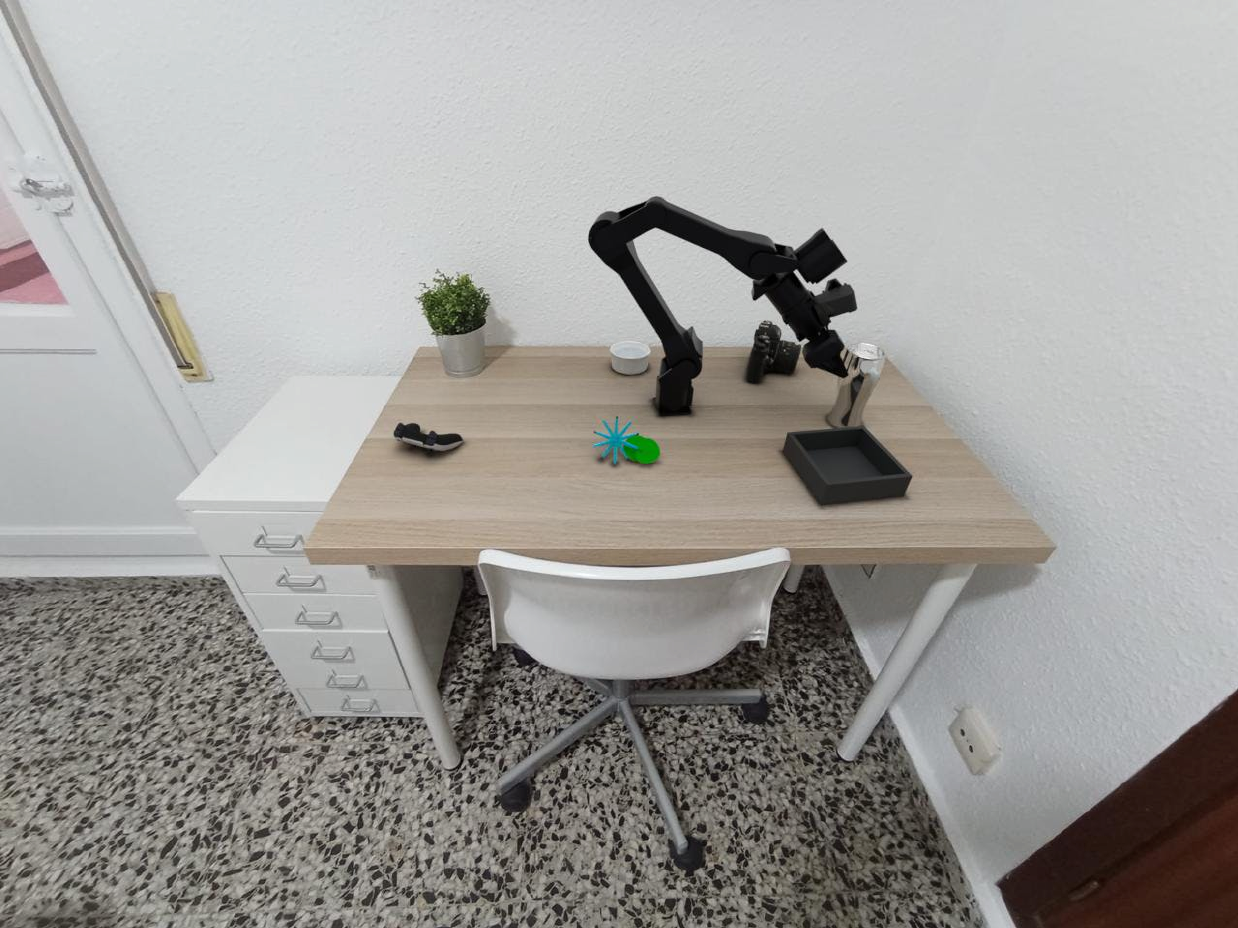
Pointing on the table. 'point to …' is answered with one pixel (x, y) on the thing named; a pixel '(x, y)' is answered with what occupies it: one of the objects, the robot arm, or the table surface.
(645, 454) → the stick construction toy
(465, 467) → the table surface
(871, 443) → the bin
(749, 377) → the film camera
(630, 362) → the ramekin
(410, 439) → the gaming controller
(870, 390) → the metal tumbler
